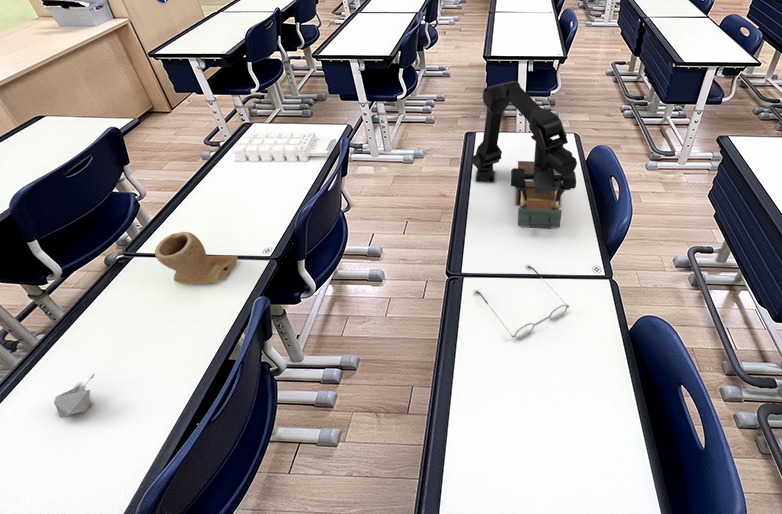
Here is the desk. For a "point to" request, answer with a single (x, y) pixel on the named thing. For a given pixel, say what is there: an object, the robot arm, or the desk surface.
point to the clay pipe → (192, 259)
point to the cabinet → (529, 184)
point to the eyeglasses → (537, 322)
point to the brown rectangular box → (538, 204)
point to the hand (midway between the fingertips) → (541, 200)
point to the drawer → (539, 211)
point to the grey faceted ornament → (73, 401)
